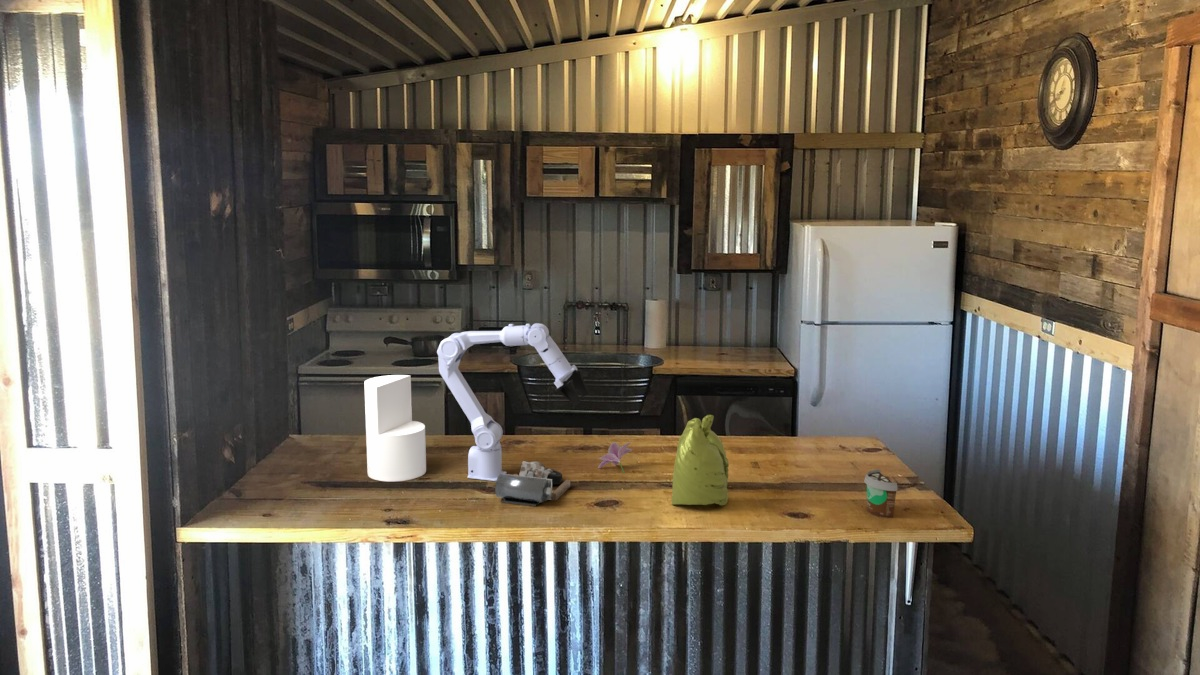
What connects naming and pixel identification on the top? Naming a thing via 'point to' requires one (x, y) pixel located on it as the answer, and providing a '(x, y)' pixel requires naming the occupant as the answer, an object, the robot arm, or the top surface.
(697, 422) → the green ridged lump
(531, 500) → the motor mount
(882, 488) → the food container
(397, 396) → the cylinder
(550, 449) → the top surface
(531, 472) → the caster wheel
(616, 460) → the lily
